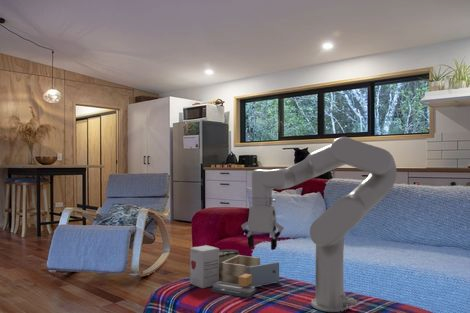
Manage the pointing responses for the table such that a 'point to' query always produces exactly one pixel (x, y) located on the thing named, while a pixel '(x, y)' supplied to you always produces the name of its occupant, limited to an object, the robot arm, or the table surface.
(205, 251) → the supplement box
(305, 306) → the table surface
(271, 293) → the table surface
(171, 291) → the table surface
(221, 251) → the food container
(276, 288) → the table surface
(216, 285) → the fader board
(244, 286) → the fader knob
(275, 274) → the door
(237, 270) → the tan open box
